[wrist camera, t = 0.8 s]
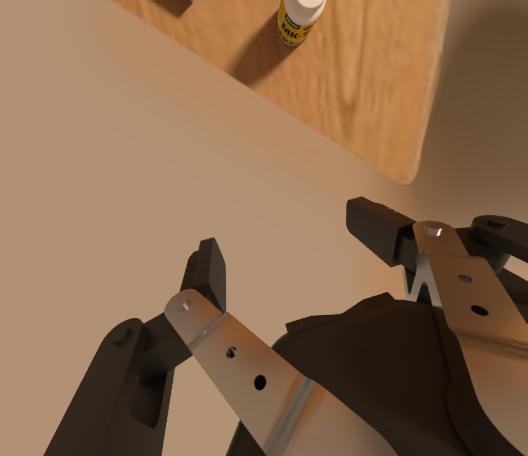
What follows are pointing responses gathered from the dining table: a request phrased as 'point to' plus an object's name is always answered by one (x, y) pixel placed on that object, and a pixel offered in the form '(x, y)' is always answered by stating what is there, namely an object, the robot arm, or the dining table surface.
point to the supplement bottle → (297, 19)
